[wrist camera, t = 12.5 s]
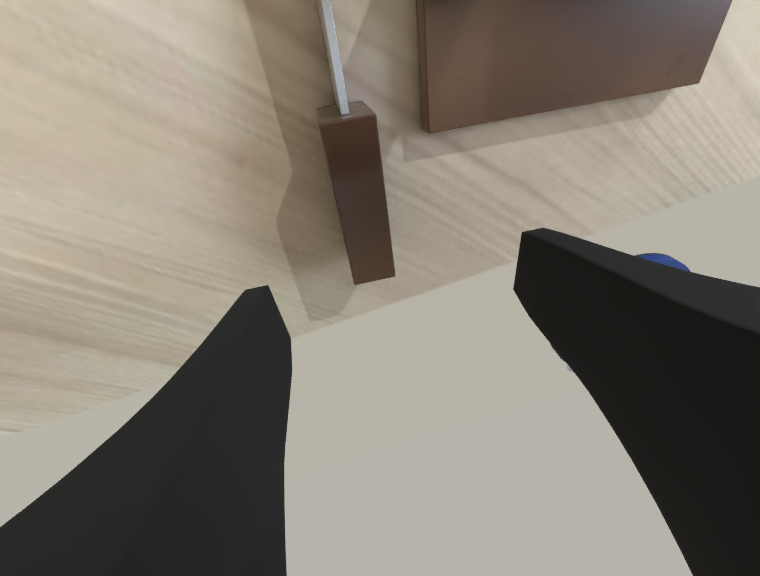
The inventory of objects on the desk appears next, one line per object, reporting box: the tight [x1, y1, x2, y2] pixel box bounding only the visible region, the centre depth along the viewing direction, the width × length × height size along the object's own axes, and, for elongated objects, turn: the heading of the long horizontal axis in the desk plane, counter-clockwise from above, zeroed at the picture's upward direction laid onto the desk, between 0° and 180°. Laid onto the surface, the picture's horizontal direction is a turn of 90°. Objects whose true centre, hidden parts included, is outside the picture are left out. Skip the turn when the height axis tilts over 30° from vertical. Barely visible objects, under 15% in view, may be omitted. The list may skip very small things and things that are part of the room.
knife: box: [317, 0, 395, 285], centre depth 12 cm, size 15×2×3 cm, turn 9°
